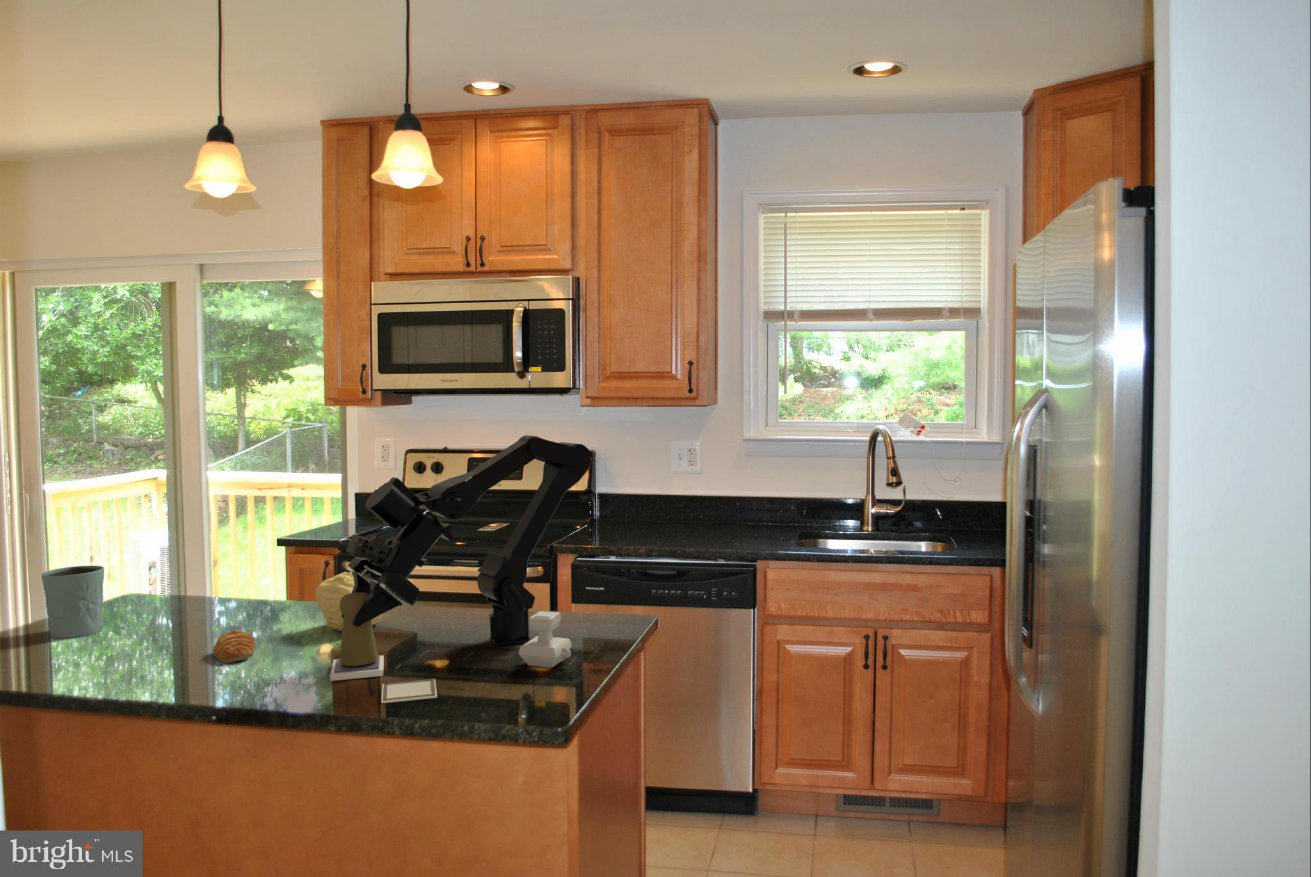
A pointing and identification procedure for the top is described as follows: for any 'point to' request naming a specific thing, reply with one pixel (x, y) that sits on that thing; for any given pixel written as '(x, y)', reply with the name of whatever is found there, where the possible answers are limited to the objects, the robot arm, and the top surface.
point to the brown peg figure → (356, 633)
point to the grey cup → (74, 601)
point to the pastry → (234, 646)
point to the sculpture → (336, 598)
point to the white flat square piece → (408, 691)
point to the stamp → (545, 641)
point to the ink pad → (357, 670)
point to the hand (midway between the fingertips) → (348, 621)
